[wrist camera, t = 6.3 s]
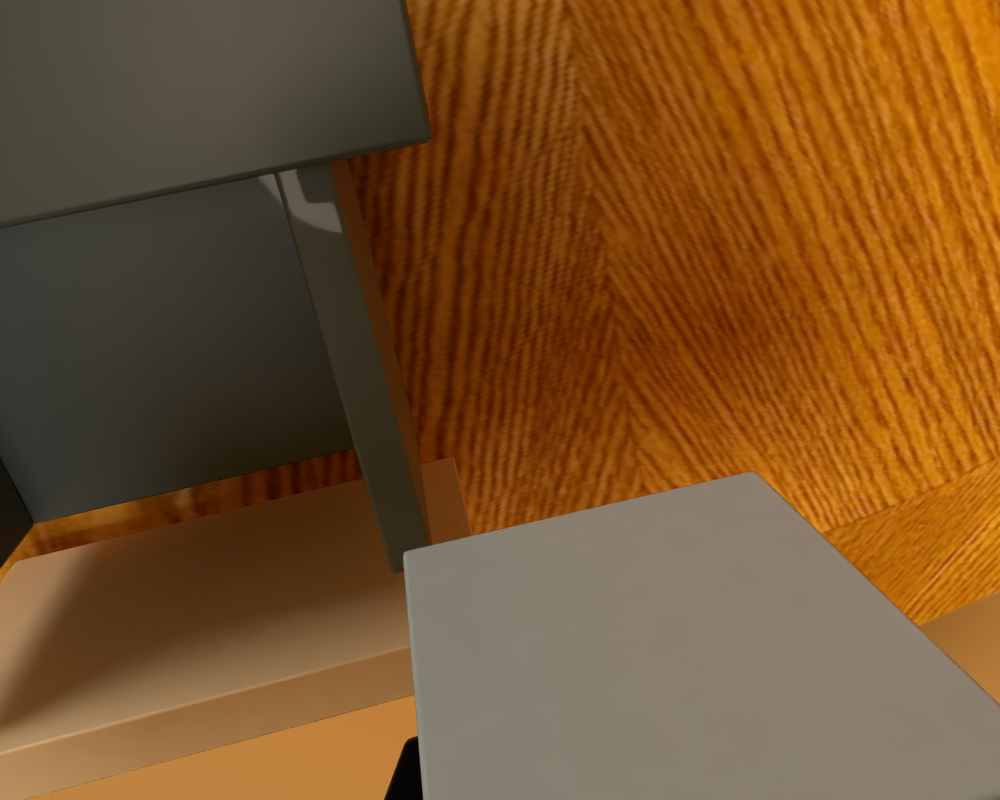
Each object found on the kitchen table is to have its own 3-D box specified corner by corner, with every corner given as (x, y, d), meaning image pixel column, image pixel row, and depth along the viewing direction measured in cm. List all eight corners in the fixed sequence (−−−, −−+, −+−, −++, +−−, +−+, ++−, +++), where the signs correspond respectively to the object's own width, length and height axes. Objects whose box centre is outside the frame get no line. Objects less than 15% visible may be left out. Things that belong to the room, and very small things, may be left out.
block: (758, 725, 11) (995, 1103, 7) (466, 803, 11) (531, 1258, 6) (754, 467, 9) (1077, 772, 5) (401, 549, 9) (434, 957, 5)
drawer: (469, 527, 21) (516, 716, 14) (54, 631, 20) (-91, 883, 13) (343, -21, 15) (328, -105, 9) (-251, 86, 14) (-750, 78, 8)
